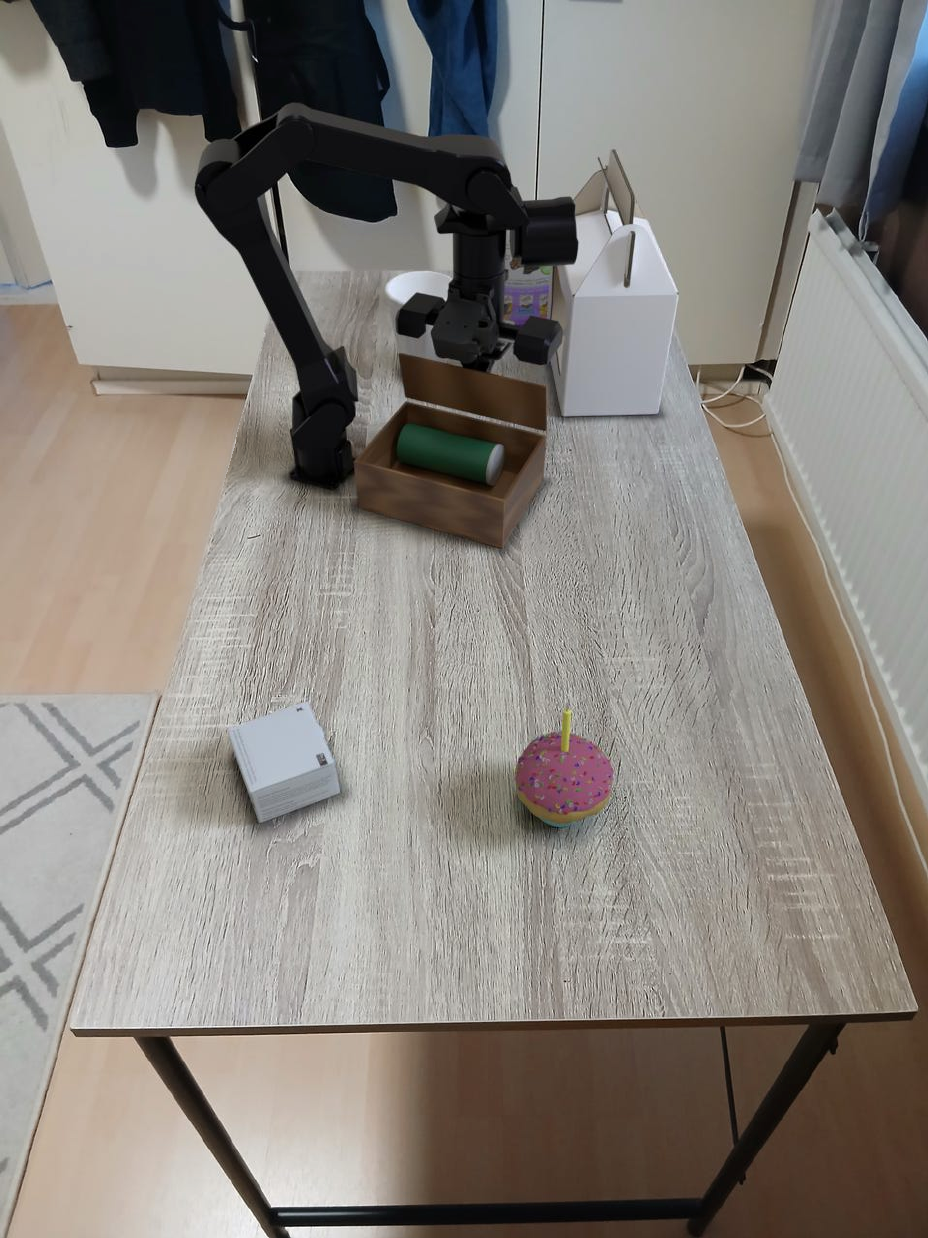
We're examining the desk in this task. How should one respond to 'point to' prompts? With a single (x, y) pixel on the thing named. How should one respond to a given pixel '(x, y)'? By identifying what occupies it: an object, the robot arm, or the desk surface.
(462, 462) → the crisps tube
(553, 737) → the cupcake
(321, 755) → the small box
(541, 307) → the candy box
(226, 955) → the desk surface
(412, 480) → the snack box
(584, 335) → the gable box
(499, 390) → the flap
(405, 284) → the cup
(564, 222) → the robot arm
